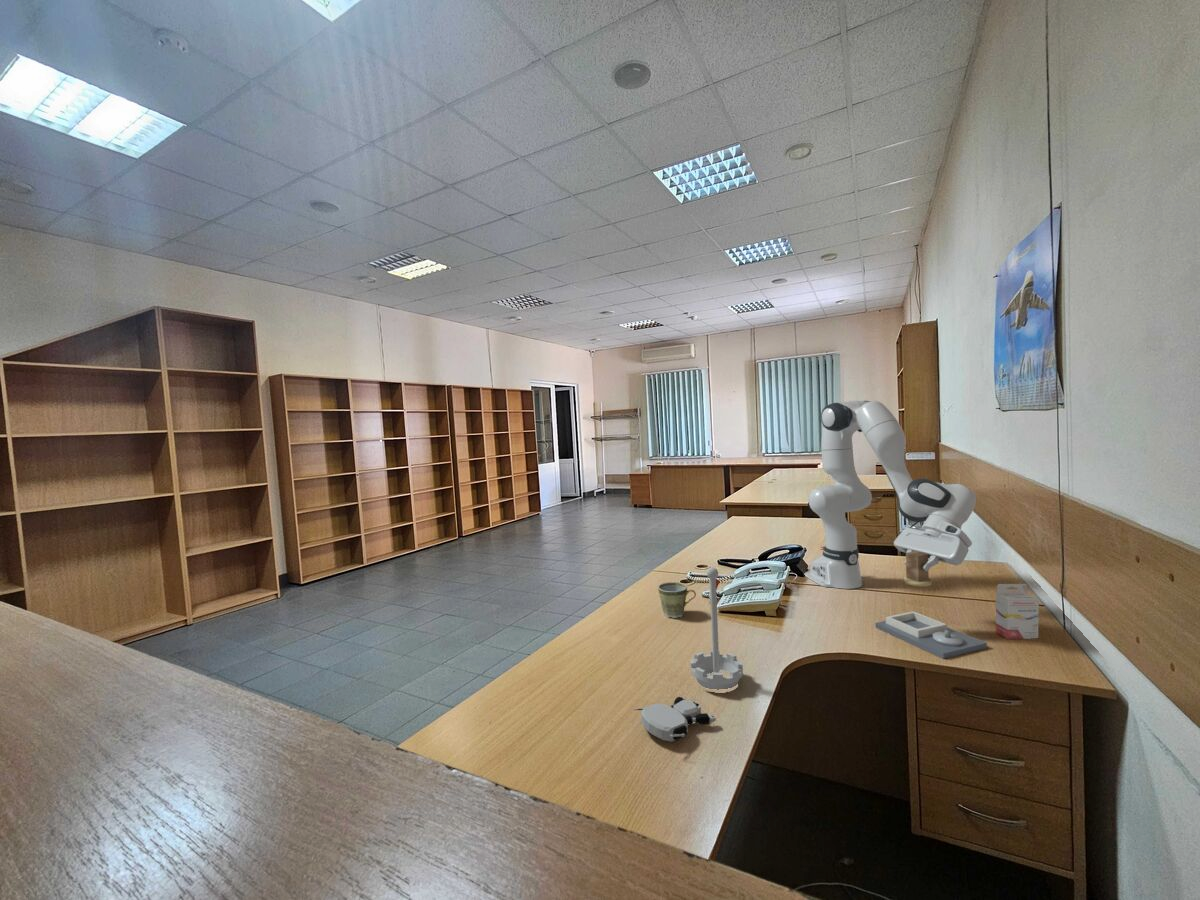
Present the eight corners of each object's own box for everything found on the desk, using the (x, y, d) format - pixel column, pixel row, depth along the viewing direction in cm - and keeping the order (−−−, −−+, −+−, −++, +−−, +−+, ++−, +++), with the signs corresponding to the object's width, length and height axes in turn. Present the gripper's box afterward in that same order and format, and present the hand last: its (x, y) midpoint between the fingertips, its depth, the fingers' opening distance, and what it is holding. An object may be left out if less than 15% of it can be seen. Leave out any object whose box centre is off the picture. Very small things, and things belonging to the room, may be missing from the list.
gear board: (875, 627, 153) (875, 614, 153) (915, 618, 158) (914, 605, 158) (943, 659, 132) (943, 643, 132) (986, 648, 137) (986, 632, 137)
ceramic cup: (656, 619, 169) (654, 590, 168) (663, 608, 178) (662, 581, 177) (693, 623, 164) (692, 593, 163) (699, 611, 173) (698, 583, 172)
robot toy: (680, 707, 118) (631, 726, 110) (681, 688, 118) (631, 706, 110) (719, 732, 108) (668, 755, 100) (719, 711, 108) (668, 733, 100)
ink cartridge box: (1007, 639, 141) (1007, 589, 140) (995, 632, 146) (994, 583, 145) (1039, 639, 140) (1039, 588, 139) (1026, 632, 145) (1026, 582, 144)
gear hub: (898, 581, 151) (897, 552, 150) (915, 577, 153) (915, 549, 153) (919, 588, 144) (918, 557, 144) (937, 584, 146) (936, 554, 146)
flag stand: (734, 701, 118) (729, 578, 116) (683, 688, 125) (678, 571, 123) (749, 675, 129) (745, 563, 127) (701, 665, 136) (697, 558, 134)
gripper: (903, 519, 160) (880, 552, 157) (966, 531, 140) (941, 569, 138) (913, 531, 161) (891, 564, 159) (978, 544, 142) (954, 582, 139)
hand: (915, 567), depth 148 cm, fingers closed on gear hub, 4 cm apart
